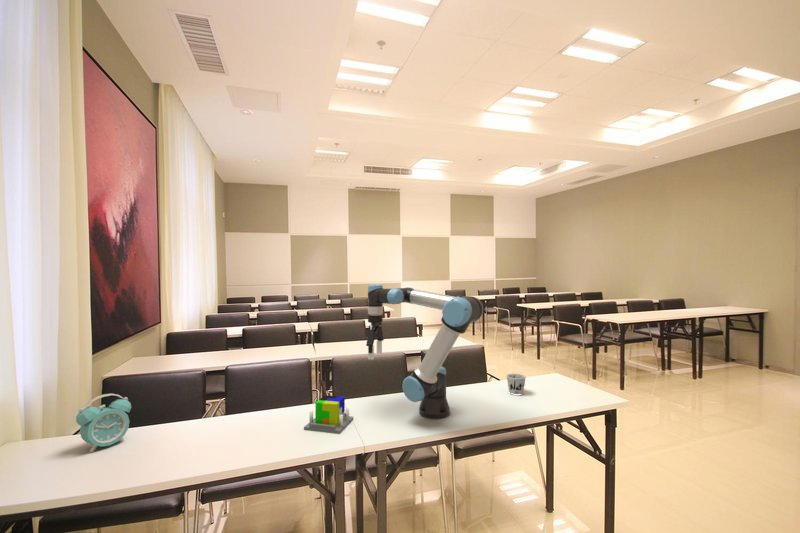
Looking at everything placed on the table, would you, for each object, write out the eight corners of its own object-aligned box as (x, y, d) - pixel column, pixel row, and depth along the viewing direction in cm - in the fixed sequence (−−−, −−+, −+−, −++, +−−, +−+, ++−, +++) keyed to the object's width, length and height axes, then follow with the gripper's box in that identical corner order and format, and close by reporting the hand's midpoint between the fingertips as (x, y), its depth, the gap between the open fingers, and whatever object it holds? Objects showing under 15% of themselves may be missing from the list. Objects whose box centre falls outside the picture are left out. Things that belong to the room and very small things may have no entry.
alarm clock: (82, 457, 135) (82, 403, 136) (72, 450, 140) (73, 399, 141) (135, 439, 150) (135, 391, 150) (125, 433, 155) (125, 387, 155)
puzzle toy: (344, 418, 168) (344, 396, 169) (336, 427, 159) (336, 404, 159) (324, 416, 170) (324, 395, 171) (315, 425, 161) (315, 402, 161)
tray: (353, 419, 170) (353, 406, 170) (339, 433, 155) (339, 419, 155) (320, 415, 174) (320, 402, 174) (303, 429, 159) (303, 415, 159)
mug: (507, 396, 202) (507, 378, 202) (504, 387, 217) (504, 371, 217) (527, 397, 200) (527, 379, 200) (522, 388, 215) (522, 371, 215)
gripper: (375, 311, 197) (375, 350, 197) (359, 317, 173) (359, 361, 173) (388, 312, 195) (389, 351, 195) (374, 317, 171) (374, 362, 171)
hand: (375, 356), depth 184 cm, fingers open, 13 cm apart
